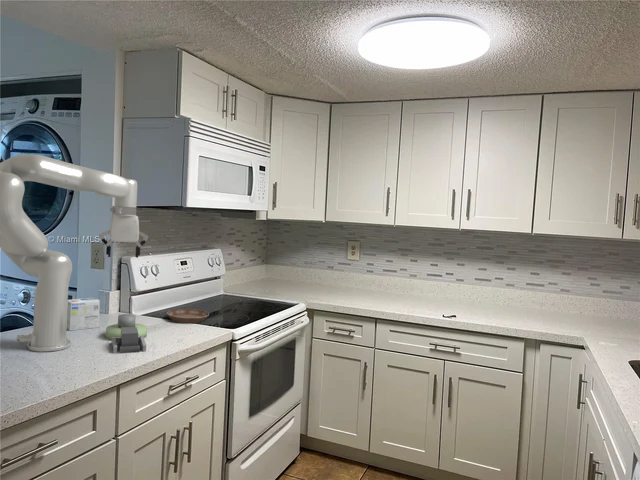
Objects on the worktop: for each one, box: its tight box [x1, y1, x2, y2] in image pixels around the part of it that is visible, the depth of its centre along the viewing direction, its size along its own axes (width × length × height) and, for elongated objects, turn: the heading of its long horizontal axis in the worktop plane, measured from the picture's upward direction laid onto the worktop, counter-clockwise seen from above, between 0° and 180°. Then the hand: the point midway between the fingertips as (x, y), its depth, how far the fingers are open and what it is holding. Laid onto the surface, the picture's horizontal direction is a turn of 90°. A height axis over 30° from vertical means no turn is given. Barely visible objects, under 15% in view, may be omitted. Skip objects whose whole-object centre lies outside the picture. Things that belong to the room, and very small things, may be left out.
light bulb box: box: [67, 297, 101, 332], centre depth 178 cm, size 11×7×11 cm, turn 134°
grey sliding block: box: [119, 327, 141, 354], centre depth 158 cm, size 6×10×6 cm, turn 26°
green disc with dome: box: [105, 313, 148, 354], centre depth 165 cm, size 14×26×7 cm, turn 26°
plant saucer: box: [166, 308, 210, 324], centre depth 202 cm, size 18×18×3 cm
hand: (123, 257), depth 176 cm, fingers open, 9 cm apart
